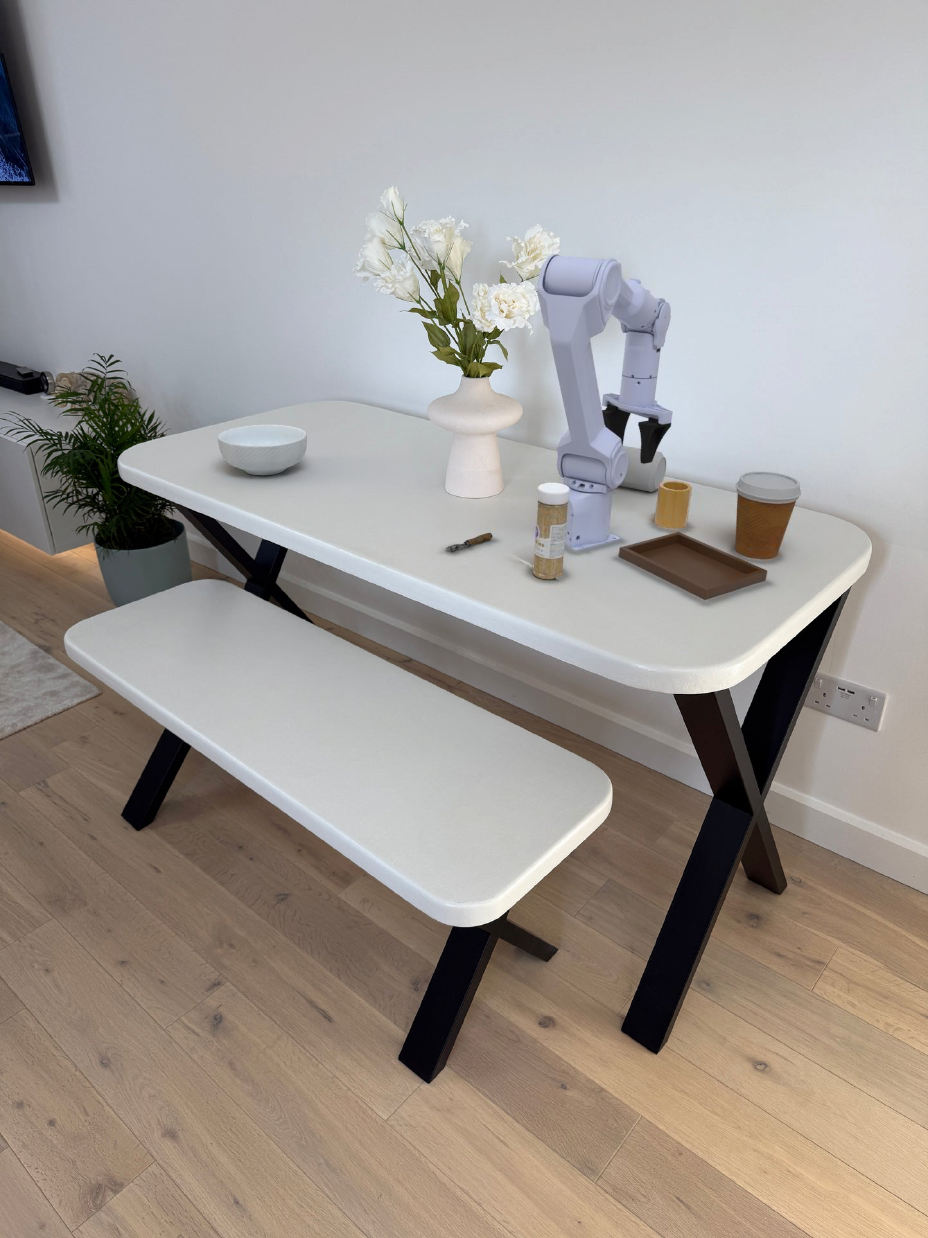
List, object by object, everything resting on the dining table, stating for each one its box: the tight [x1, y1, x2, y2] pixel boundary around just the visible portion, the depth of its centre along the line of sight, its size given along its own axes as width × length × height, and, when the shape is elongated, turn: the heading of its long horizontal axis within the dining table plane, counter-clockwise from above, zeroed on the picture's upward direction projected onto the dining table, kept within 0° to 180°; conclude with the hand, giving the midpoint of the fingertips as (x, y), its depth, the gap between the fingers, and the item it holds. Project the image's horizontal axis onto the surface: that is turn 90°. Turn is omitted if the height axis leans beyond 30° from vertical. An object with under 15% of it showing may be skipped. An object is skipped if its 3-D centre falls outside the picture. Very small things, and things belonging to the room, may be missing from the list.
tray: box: [618, 531, 768, 601], centre depth 127 cm, size 13×18×2 cm
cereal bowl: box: [217, 424, 308, 476], centre depth 165 cm, size 17×17×7 cm
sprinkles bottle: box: [532, 482, 570, 580], centre depth 122 cm, size 5×5×14 cm
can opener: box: [445, 532, 493, 552], centre depth 134 cm, size 9×2×1 cm, turn 125°
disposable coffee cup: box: [734, 471, 802, 561], centre depth 130 cm, size 10×10×12 cm
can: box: [618, 445, 667, 493], centre depth 160 cm, size 8×8×12 cm
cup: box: [653, 480, 693, 530], centre depth 142 cm, size 5×5×7 cm
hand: (630, 456), depth 145 cm, fingers open, 7 cm apart
